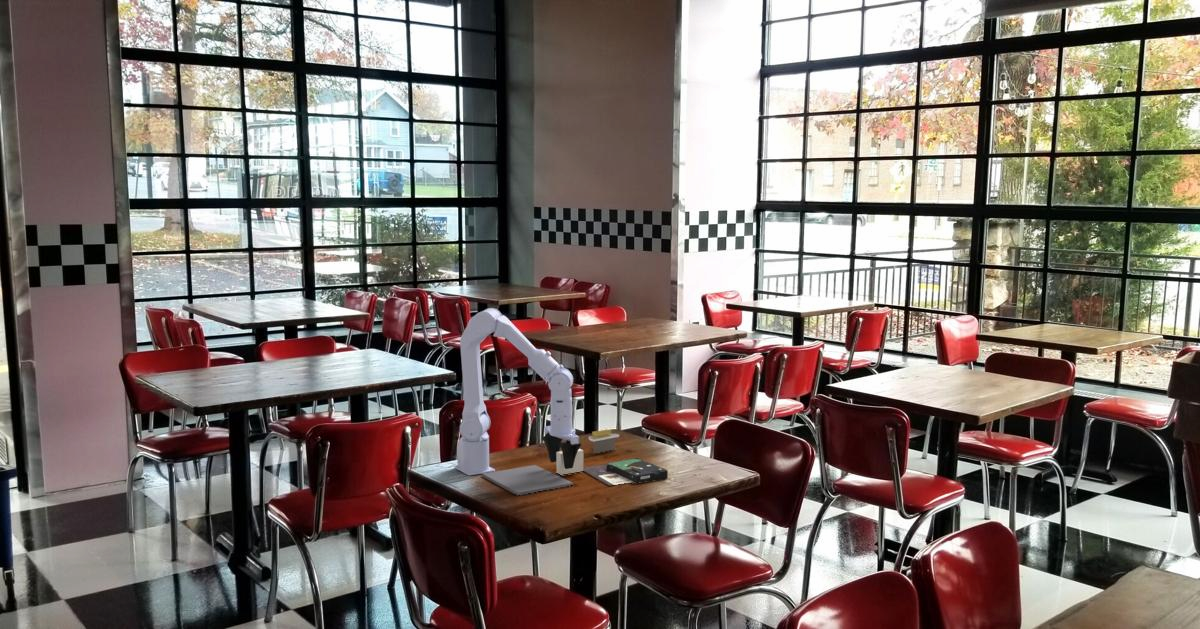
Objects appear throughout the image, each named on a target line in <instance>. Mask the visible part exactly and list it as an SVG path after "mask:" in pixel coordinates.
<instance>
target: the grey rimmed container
mask: <svg viewBox="0 0 1200 629" xmlns="http://www.w3.org/2000/svg"><path fill="white" fill-rule="evenodd" d="M619 437H620V434H619V433H612V429H610V430H608V428H606V429H601V430H596V431H592V435H591V436H588V440H589V441H590V442H593V454H594V453H598V452H603V451H608V452H610V451H609V450H613V451H616V438H619ZM603 453H604V452H603ZM598 454H599V453H598Z"/></svg>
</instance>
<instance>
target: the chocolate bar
mask: <svg viewBox="0 0 1200 629" xmlns="http://www.w3.org/2000/svg"><path fill="white" fill-rule="evenodd" d="M606 465H608V463H606V464H599V465H592V466H591V465H590V466H583V471H584V472H586V473H588V474H589V475H591V476H593V477H594V478H593V477H592V478H593V479H595V478H596V479H598V480H600V481H601V482H600V481H599V482H600V483H602V482H603V483H605V484H607V485H608V486H607V485H606V486H607V487H609V486H611V487H613V486H612V485H618V484H624V483H631V482H633V481H631V480H629V479H627V478H624V477H622V476H620V475H618V474H616V473H613V472H611V471H609V470H607V468H606ZM584 472H583V473H584ZM586 473H585V474H586ZM588 474H587V475H588ZM589 475H588V476H589ZM591 476H590V477H591ZM596 479H595V480H596ZM598 480H597V481H598ZM603 483H602V484H603ZM605 484H604V485H605ZM618 486H619V485H618Z"/></svg>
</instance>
